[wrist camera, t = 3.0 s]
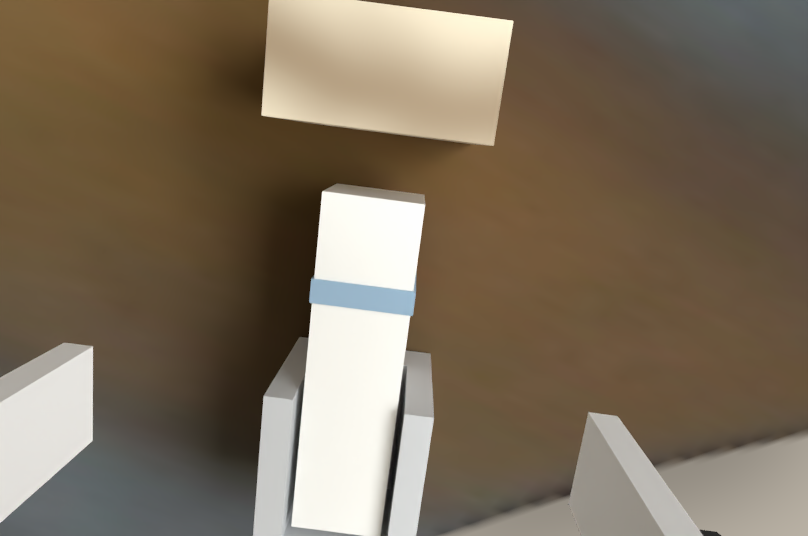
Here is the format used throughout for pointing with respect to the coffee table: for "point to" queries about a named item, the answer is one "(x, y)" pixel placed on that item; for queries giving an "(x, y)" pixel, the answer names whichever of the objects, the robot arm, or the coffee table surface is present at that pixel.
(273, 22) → the beige block
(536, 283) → the coffee table surface
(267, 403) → the sleeve
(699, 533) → the robot arm
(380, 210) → the blue-banded white bar
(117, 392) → the coffee table surface
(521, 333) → the coffee table surface
